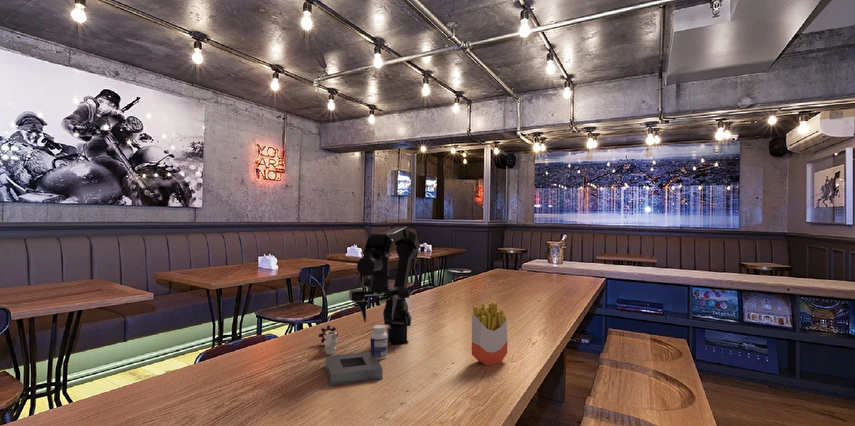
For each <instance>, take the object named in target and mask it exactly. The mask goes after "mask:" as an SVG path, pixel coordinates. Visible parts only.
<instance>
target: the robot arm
mask: <svg viewBox="0 0 855 426" xmlns="http://www.w3.org/2000/svg"><path fill="white" fill-rule="evenodd" d="M394 247H395V252H396V253H397V256H398V261H397V267H396V272H395V279H394V285H393V289H390V288H389V285H390V283H389V280H390V273H389V270H390V257H391V256H392V255H391V253H390V252H391V250H392V249H393V248H394ZM419 248H420V240H419V239H418V237H417V235H416V234H415V233H413V232H412V231H411V230H410V228H409V227H407V226H406V225H405V226H403V225H401V226H398V225H396V226H394V228H392V229H391V228H390V229H388V230H386V231H384V232H371V233H370V234H369V236H368V238H367V241H366V243H365V246H364V249H363V251H362V255H363V257H361V258H360V259H359V260H358V261H357V265H356V268H357V271H358V273H359V274H360V275H361V276H363V277H362V279H361V280H362V282H361V285H362V288H367V291H364V290H363V289H362V288H351V289H349V292H348V298H349V300H350V301H351V302H354V303H355V304H357V305H358V307H359V310H360V312H361V316H362V319H363V322H364V323H366V321H367V312H366V301H365V300H364V299H365V298H375V297H378V298H379V297H390V298H387V299H386V301H385V306H384V309H383V313H382V315H383V321H384V322H383V323H384V326H388V327H387V328H386V333H387V343H389V344H390V345H391V346H392V345H401V344H409V340H408V327H410V326H411V324H412V316H411V314H410V312H409V305H408V303H407V300H406V299H409V298H410V289H408V284H409V283H408V282H409V275H410V269H411V263H412V261H413V259H414V258H415V257H416V256H417V252H418V250H419ZM369 277H370V278H369Z"/></svg>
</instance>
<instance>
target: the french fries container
mask: <svg viewBox="0 0 855 426" xmlns="http://www.w3.org/2000/svg"><path fill="white" fill-rule="evenodd" d="M472 310H473V311H472V312H473V314H471V325H472V326H471V355H472V356H473V358H474V359H476V360H477V361H478V362H480V363H481V364H483V365H485V366H491V365H495V364H500V363H502V361H503V360H504V359H505V357H506V356H507V354H508V327H507V318H506V316H505V313H504V310H503V309H500V308H498V302H496V301H493V302H490V303H489V302H488V307H486V305H485V303H481V307H478V306H477V305H475V306H472Z"/></svg>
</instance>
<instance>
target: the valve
mask: <svg viewBox="0 0 855 426" xmlns="http://www.w3.org/2000/svg"><path fill="white" fill-rule="evenodd" d="M320 331H321V332H322V333H318V338H321V339H320V343H324V348H325V355H328V356H333V355H334V354H335V355H336V354H337V346H338V335H339V332H337V328H336V327H335V326H333V327H332V328H331V326H330V325H329V324H327V325H326V328H325V327H321V328H320ZM326 331H327V332H326ZM324 336H325V337H324Z"/></svg>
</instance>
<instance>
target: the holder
mask: <svg viewBox="0 0 855 426" xmlns="http://www.w3.org/2000/svg"><path fill="white" fill-rule="evenodd" d="M324 359H325V360H324V361H325V362H324V366H325V367H324V368H325V371H326V375H327V378H328V382H329V385H330V386H331V387H332V386H340V385H347V384H355V383H362V382H369V381H378V380H383V367H382V365H381V363H380V362H379V360H377V359H376V357H375V356H374V354H373V353H372V352H370V351H365V352H357V353H356V352H354V353H346V354H345V353H344V354H335V355H328V356H327V355H326V356H325V358H324Z"/></svg>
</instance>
